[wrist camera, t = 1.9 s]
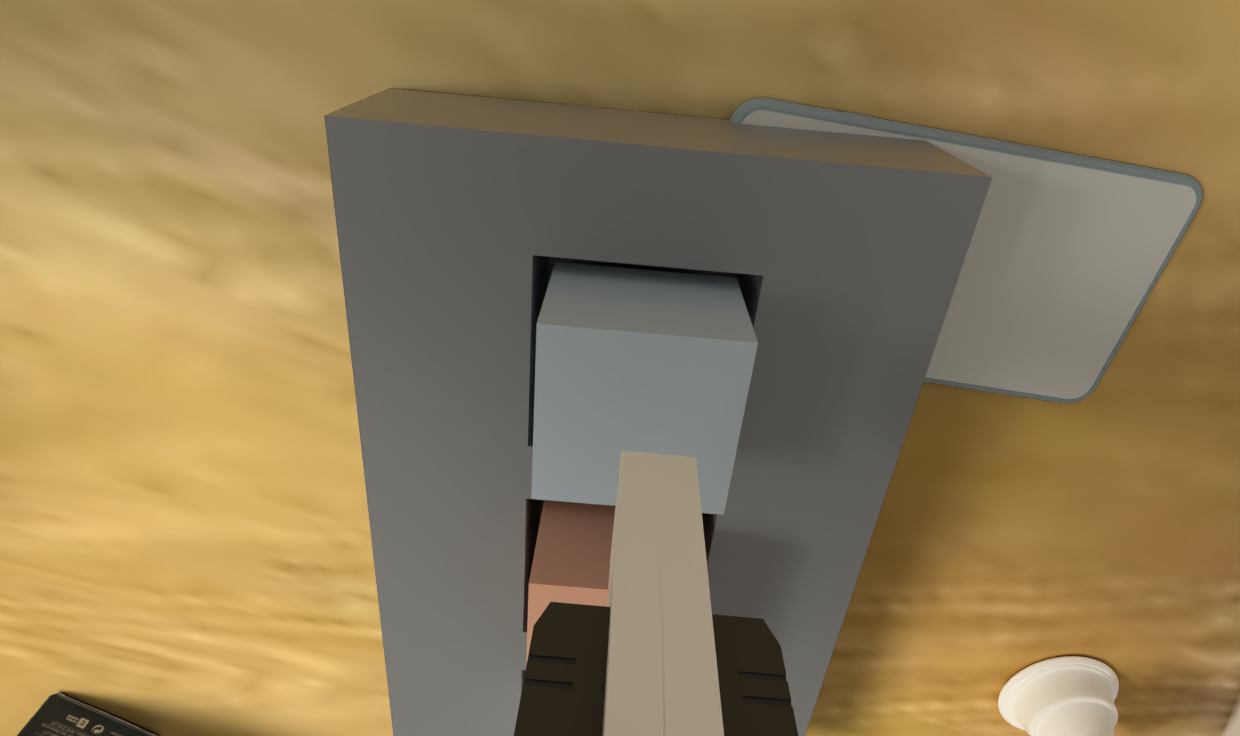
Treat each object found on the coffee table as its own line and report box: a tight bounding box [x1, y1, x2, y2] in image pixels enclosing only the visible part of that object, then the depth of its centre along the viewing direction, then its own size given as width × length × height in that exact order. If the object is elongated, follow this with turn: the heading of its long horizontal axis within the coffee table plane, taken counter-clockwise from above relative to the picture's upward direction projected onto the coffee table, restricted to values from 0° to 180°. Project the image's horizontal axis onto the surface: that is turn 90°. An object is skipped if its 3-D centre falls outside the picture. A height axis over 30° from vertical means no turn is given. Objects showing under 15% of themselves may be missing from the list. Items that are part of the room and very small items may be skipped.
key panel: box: [325, 88, 992, 736], centre depth 26 cm, size 16×28×5 cm, turn 175°
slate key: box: [531, 262, 758, 515], centre depth 19 cm, size 5×5×4 cm
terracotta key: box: [526, 500, 616, 665], centre depth 23 cm, size 5×5×4 cm
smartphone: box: [730, 97, 1203, 404], centre depth 23 cm, size 8×1×15 cm
